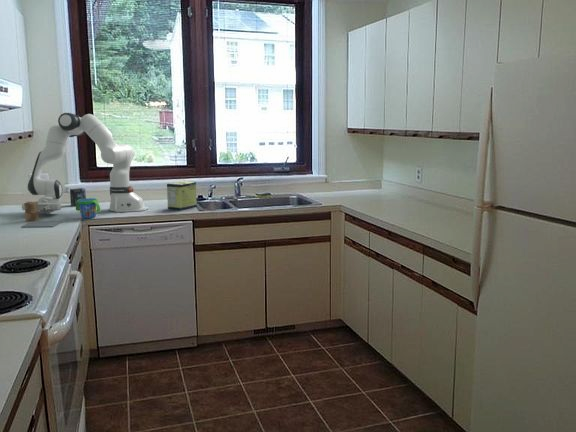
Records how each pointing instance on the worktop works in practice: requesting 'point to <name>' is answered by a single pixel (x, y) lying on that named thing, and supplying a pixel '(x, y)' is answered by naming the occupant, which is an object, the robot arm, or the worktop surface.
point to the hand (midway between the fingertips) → (35, 208)
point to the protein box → (181, 195)
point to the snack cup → (87, 207)
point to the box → (77, 195)
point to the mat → (41, 224)
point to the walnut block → (31, 211)
